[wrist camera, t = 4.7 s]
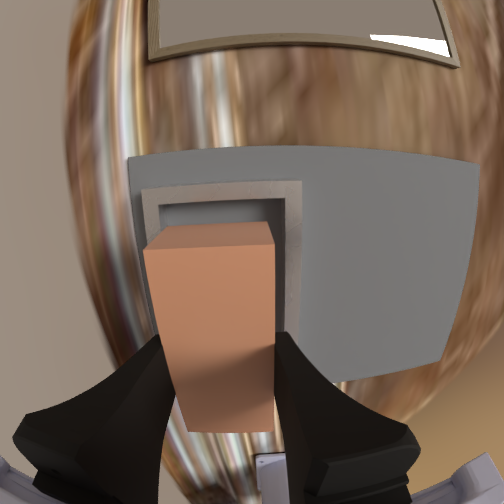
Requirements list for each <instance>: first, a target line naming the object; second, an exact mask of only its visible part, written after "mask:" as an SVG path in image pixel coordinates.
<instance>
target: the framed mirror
mask: <svg viewBox="0 0 504 504" xmlns="http://www.w3.org/2000/svg"><path fill="white" fill-rule="evenodd" d="M266 45H323V46H339V47H350V48H360V49H368V50H375V51H382V52H388V53H394V54H399V55H404V56H409V57H414V58H418V59H423V60H427V61H431V62H435V63H438V64H442V65H445V66H449V67H452V68H455V69H457V68H460V62H459V58H458V54H457V50H456V46H455V42H454V38H453V35H452V31H451V28H450V25H449V22H448V19H447V16H446V13H445V10H444V7H443V4H442V2H441V0H148V57H149V61H151V62H155V61H159V60H164V59H168V58H173V57H178V56H183V55H188V54H194V53H200V52H206V51H213V50H220V49H229V48H238V47H250V46H266Z"/></svg>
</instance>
